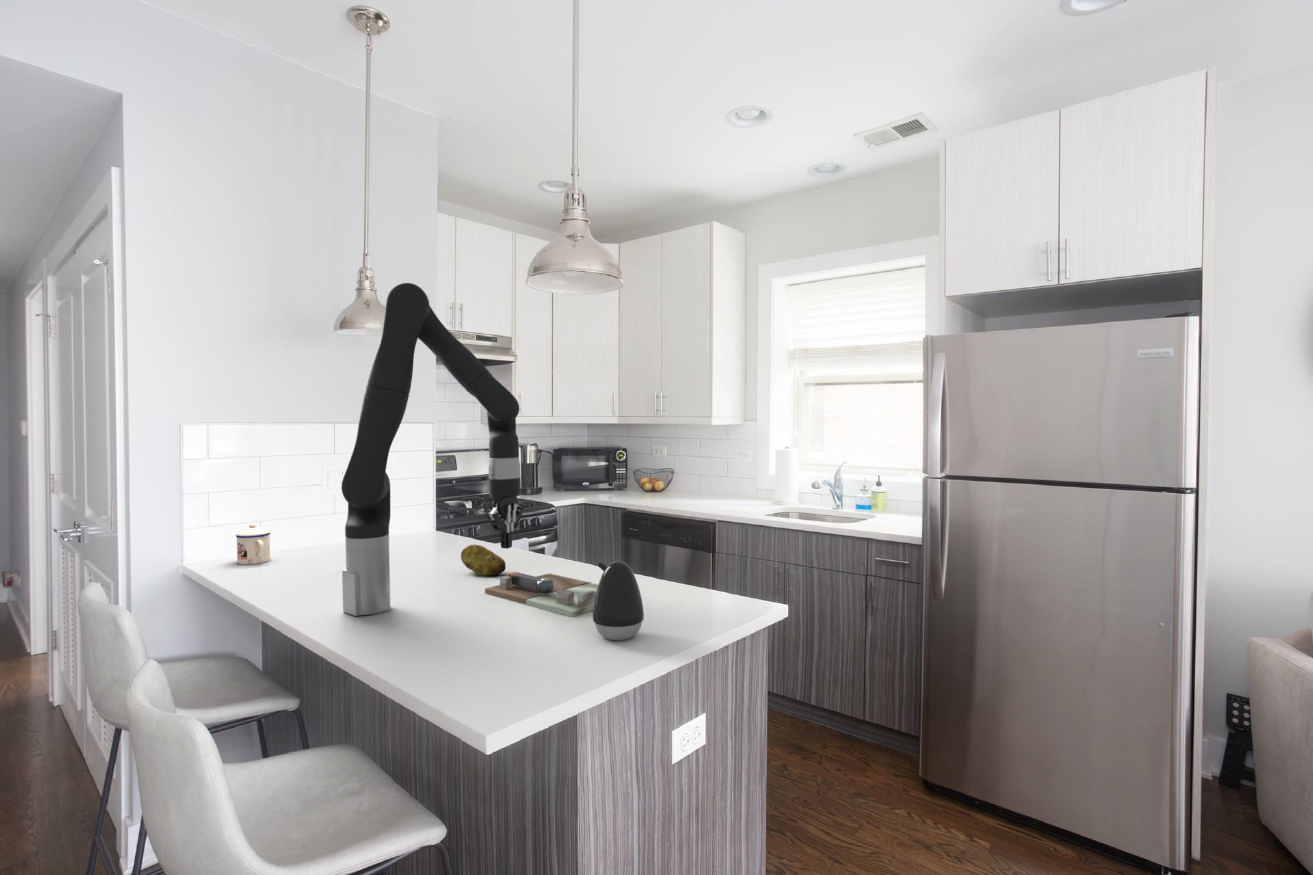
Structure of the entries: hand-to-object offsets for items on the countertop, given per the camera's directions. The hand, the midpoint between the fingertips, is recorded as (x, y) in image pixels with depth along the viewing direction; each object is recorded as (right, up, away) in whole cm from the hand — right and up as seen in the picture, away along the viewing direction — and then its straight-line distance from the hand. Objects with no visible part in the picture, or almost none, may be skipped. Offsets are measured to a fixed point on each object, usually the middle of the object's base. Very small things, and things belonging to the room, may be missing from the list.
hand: (506, 547), depth 167 cm
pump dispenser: (+29, -14, -28) cm, 42 cm away
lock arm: (+5, -10, +4) cm, 12 cm away
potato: (-12, -12, +27) cm, 32 cm away
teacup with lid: (-86, -12, +44) cm, 97 cm away
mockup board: (+12, -12, +3) cm, 18 cm away
